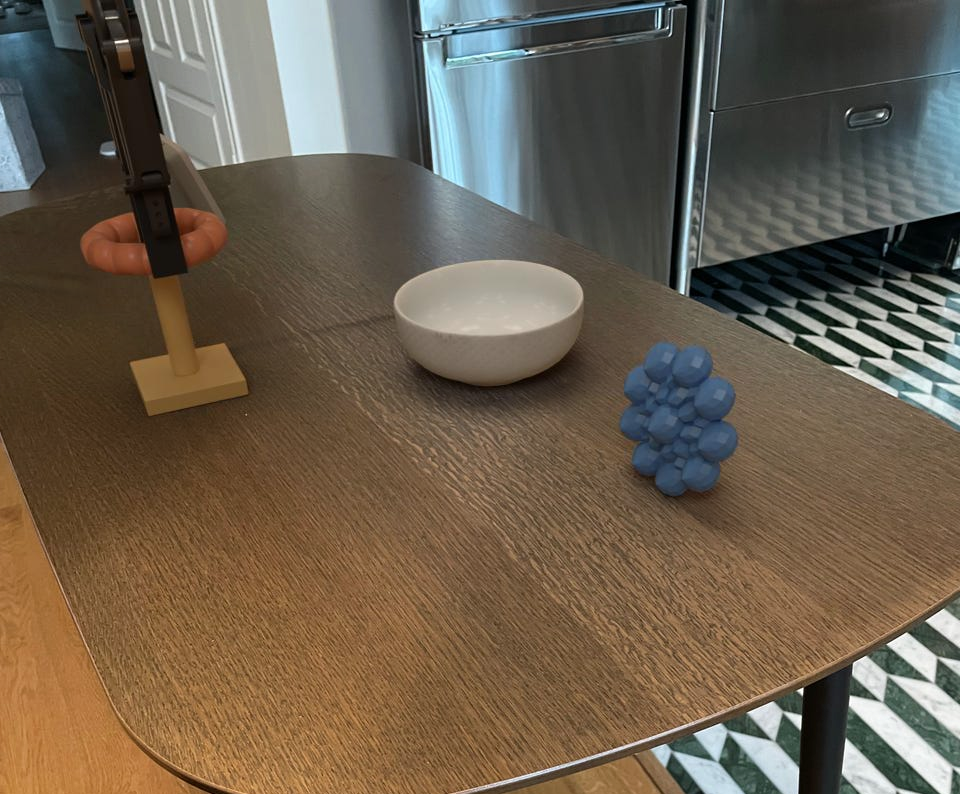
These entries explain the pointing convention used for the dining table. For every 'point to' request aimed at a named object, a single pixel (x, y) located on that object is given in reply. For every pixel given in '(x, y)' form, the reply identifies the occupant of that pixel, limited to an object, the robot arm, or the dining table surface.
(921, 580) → the dining table surface
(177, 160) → the digital clock
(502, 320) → the cereal bowl
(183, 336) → the peg stand
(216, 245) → the ring
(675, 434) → the grapes
